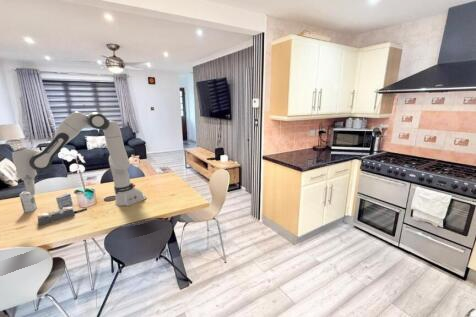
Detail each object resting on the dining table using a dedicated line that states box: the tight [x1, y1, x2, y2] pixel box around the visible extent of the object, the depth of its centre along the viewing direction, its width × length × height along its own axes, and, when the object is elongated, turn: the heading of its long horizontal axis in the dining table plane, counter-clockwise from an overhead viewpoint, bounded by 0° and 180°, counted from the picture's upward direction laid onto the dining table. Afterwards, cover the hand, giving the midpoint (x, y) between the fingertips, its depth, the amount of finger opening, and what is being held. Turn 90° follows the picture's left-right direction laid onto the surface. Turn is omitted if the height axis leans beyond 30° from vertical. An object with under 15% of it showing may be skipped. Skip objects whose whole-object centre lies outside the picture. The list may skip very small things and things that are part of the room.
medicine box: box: [55, 193, 74, 209], centre depth 170 cm, size 8×4×9 cm, turn 160°
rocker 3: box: [63, 206, 74, 211], centre depth 156 cm, size 5×4×2 cm
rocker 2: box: [49, 208, 61, 216], centre depth 152 cm, size 5×4×2 cm
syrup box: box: [18, 190, 38, 213], centre depth 164 cm, size 6×6×14 cm
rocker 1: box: [37, 212, 49, 218], centre depth 148 cm, size 5×4×2 cm
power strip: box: [37, 205, 88, 226], centre depth 156 cm, size 27×8×4 cm, turn 132°
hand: (33, 194), depth 142 cm, fingers closed
